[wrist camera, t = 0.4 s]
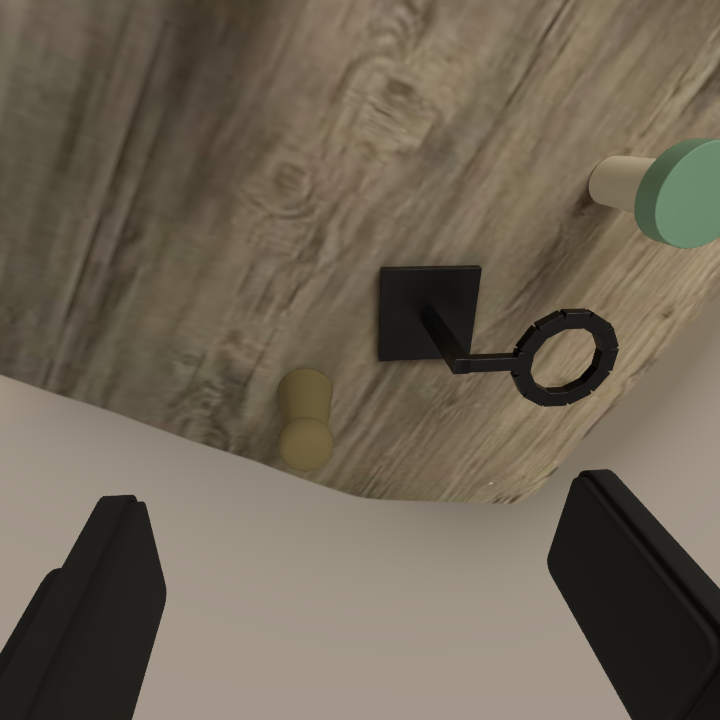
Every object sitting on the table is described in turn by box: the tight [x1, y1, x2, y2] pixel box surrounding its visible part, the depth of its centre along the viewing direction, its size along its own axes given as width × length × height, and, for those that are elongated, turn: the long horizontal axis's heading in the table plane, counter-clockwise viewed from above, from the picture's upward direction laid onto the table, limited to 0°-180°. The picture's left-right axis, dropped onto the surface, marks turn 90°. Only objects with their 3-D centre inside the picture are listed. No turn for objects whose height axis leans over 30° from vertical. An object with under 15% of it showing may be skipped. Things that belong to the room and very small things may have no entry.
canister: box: [589, 138, 720, 249], centre depth 38 cm, size 8×8×11 cm
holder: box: [378, 265, 619, 407], centre depth 42 cm, size 10×18×12 cm, turn 89°
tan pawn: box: [277, 368, 334, 472], centre depth 45 cm, size 6×6×11 cm
